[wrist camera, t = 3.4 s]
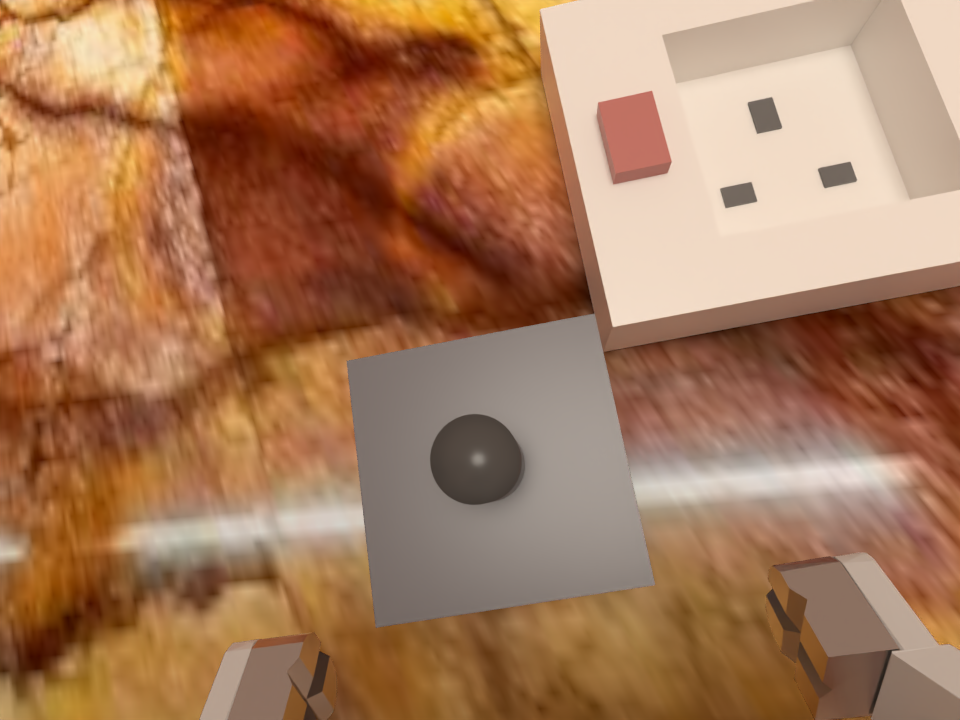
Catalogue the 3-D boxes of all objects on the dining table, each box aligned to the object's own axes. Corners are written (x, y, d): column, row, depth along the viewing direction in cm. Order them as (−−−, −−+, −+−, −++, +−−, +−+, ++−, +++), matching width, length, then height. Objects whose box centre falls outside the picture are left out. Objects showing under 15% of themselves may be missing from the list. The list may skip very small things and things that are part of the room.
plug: (460, 559, 18) (329, 665, 7) (439, 419, 19) (299, 331, 8) (602, 536, 17) (685, 613, 7) (572, 395, 19) (606, 271, 8)
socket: (602, 352, 19) (615, 320, 15) (541, 74, 21) (539, -7, 18) (1049, 269, 18) (1172, 215, 14) (926, -13, 20) (1005, -117, 17)
